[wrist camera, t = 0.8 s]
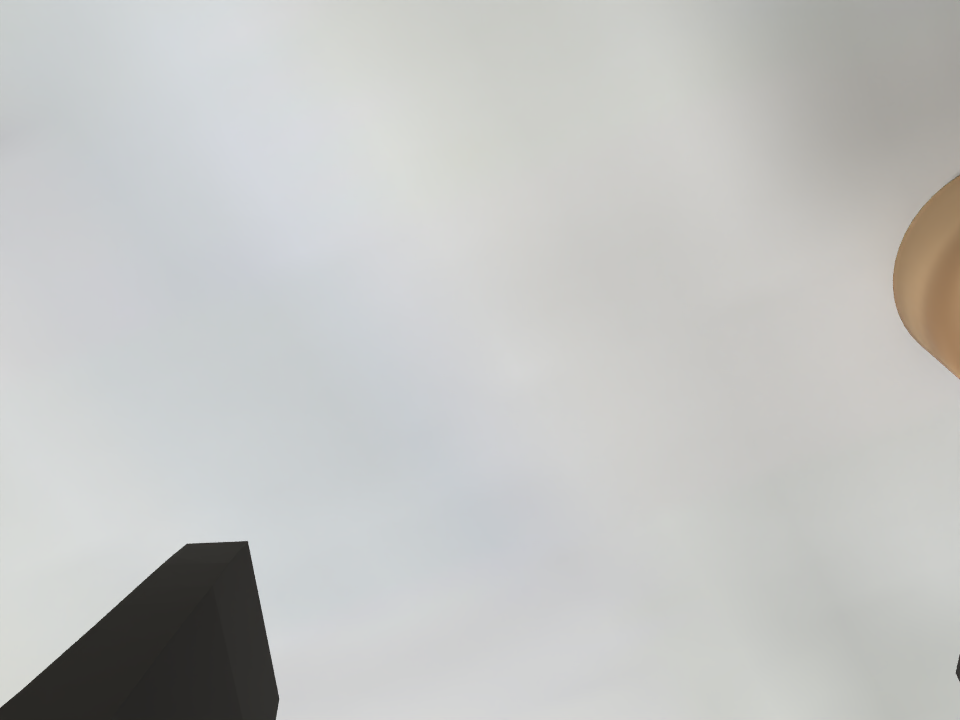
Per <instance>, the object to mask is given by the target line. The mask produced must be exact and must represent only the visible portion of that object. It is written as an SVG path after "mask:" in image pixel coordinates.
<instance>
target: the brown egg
mask: <svg viewBox="0 0 960 720" xmlns="http://www.w3.org/2000/svg"><path fill="white" fill-rule="evenodd" d="M893 291H894V298H895V303H896V307H897V310H898V313H899V316H900V318H901V320H902V322H903V324H904V326H905V327H906V329H907V330H908V332H909V333H910V334H911V336H912V337H913V338H914V339H915V340H916V341H917V342H918V343H919V344H920V345H921V346H922V347H923V348H924V349H926V350H927V351H928V352H929V353H930V354H931V355H932V356H934V357H935V358H936V359H937V360H938V361H939V362H940V363H942V364H943V365H944V366H945V367H946V368H947V369H948V370H950V371H951V372H952V373H953V374H954V375H955V376H956V377H958V378H959V379H960V175H959V176H958V177H956V178H955V179H954V180H952V181H951V182H949V183H948V184H946V185H945V186H944V187H943V188H942V189H940V190H939V191H938V192H937V193H936V194H935V195H933V196H932V198H931V199H930V200H929V201H928V202H927V203H926V204H925V205H924V206H923V207H922V208H921V210H920V211H919V213H918V214H917V215H916V217H915V218H914V219H913V221H912V222H911V224H910V226H909V228H908V229H907V231H906V233H905V235H904V237H903V240H902V242H901V244H900V247H899V250H898V253H897V257H896V260H895V266H894V273H893Z"/></svg>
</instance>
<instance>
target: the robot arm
mask: <svg viewBox="0 0 960 720" xmlns="http://www.w3.org/2000/svg"><path fill="white" fill-rule="evenodd" d="M956 674H957V677H958V679H959V681H960V656H959V660H958V665H957V669H956ZM278 703H279V695H278V690H277V685H276V680H275V675H274V670H273V665H272V660H271V655H270V650H269V645H268V640H267V635H266V630H265V625H264V620H263V615H262V610H261V605H260V600H259V595H258V590H257V585H256V580H255V575H254V570H253V565H252V560H251V555H250V550H249V545H248V541H241V542H218V543H196V544H186V545H185V546H184V547H182V548H181V549H180V550H179V551H178V552H176V553H175V554H174V555H173V556H171V557H170V558H169V559H168V560H167V561H166V562H165V563H163V564H162V565H161V566H160V567H159V568H158V569H157V570H155V571H154V572H153V573H152V574H151V575H150V576H149V577H148V578H147V579H145V580H144V581H143V582H142V583H141V584H140V585H139V586H138V587H137V588H135V589H134V590H133V591H132V592H131V593H130V594H129V595H128V596H127V597H126V598H124V599H123V600H122V601H121V602H120V603H119V604H118V605H117V606H116V607H114V608H113V609H112V610H111V611H110V612H109V613H108V614H107V615H106V616H105V617H103V618H102V619H101V620H100V621H99V622H98V623H97V624H96V625H95V626H94V627H92V628H91V629H90V630H89V631H88V632H87V633H86V634H84V635H83V636H82V637H81V638H80V639H79V640H78V641H77V642H75V643H74V644H73V645H72V646H71V647H70V648H69V649H68V650H66V651H65V652H64V653H63V654H62V655H61V656H60V657H58V658H57V659H56V660H55V661H54V662H53V663H52V664H51V665H49V666H48V667H47V668H46V669H45V670H44V671H43V672H42V673H40V674H39V675H38V676H37V677H36V678H35V679H34V680H32V681H31V682H30V683H29V684H28V685H27V686H26V687H25V688H23V689H22V690H21V691H20V692H19V693H18V694H16V695H15V696H14V697H13V698H12V699H10V700H9V701H8V702H7V703H6V704H4V705H3V706H2V707H1V708H0V720H276V715H277V709H278Z"/></svg>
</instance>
